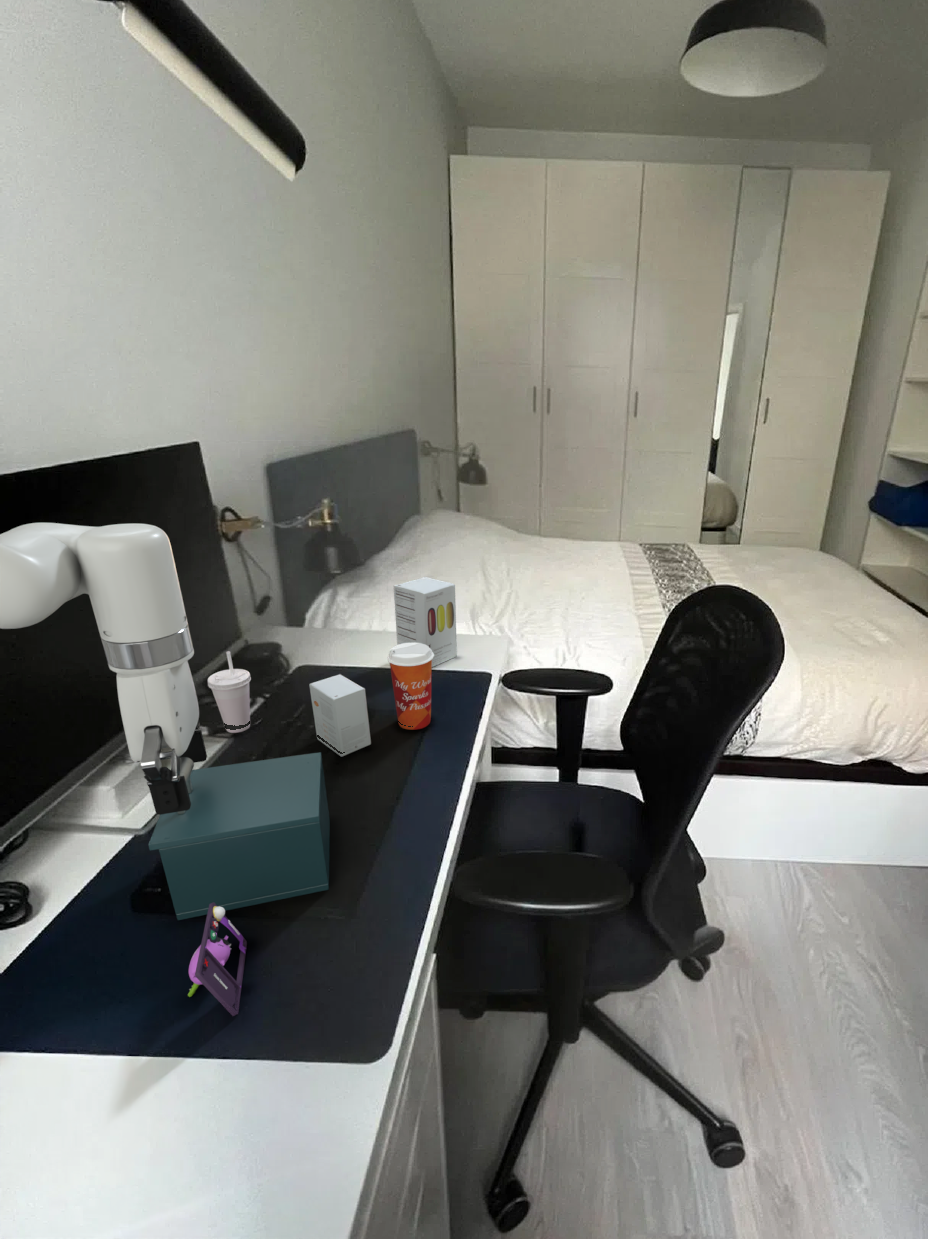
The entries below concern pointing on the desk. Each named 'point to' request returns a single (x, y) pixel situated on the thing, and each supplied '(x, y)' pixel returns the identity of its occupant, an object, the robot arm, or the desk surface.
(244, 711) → the smoothie
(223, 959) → the purple photo frame
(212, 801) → the bin lid
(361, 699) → the small box
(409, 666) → the paper cup
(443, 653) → the supplement box
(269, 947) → the desk surface
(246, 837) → the bin
